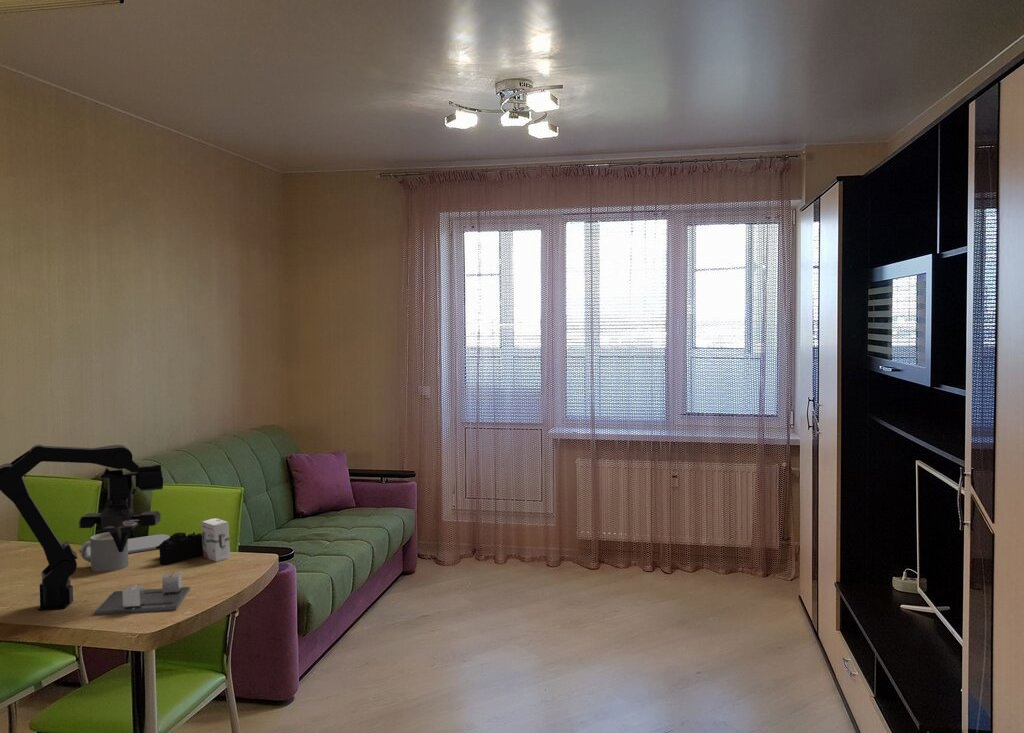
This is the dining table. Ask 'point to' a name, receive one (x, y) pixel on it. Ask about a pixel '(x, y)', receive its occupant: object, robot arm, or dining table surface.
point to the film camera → (180, 548)
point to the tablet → (142, 543)
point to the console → (152, 602)
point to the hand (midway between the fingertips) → (121, 551)
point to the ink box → (215, 539)
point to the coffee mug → (105, 553)
